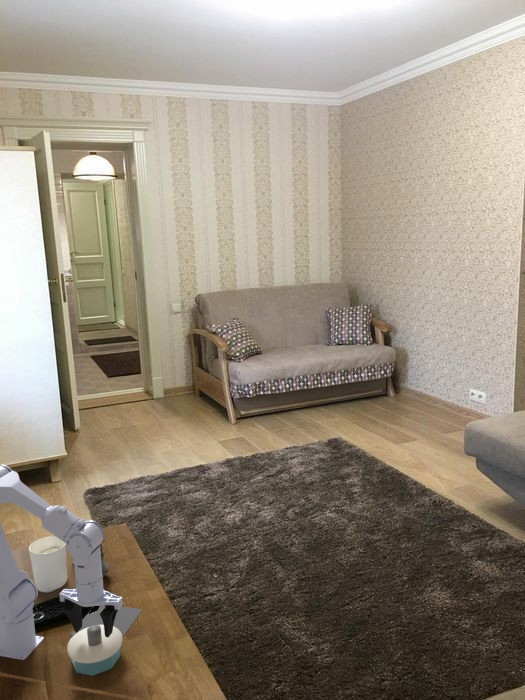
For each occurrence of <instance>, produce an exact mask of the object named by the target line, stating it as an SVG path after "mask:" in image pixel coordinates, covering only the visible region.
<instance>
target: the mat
mask: <svg viewBox="0 0 525 700" xmlns="http://www.w3.org/2000/svg"><path fill="white" fill-rule="evenodd" d="M104 608H105V606H100V607H99V609H98V610H97V611H95V612H92V613H90V614H89V612H87V614H86V615H85V616H84V617H83V618H82V628H81V629H80V630H79V631H81V630H83V629H85V628H87V627H90V626H92V625H104V624H103V620H102V618H101V616H100V613H101V612H102V611H103V609H104ZM142 611H143V609H142V608H136V607H129V606H123V605H122V606H121V608H120V609H119V610H118V611H117V614H116V617H115V620H114V625H113V626H114V627H116V628H117V629H119V630H120V632H121V634H122V639H123V638H124V636H125V635H126V633H127V632H128V631H129V629H130V628H131V627H132V625H133V624H134V622H135V621H136V620H137V619H138V617H139V615H140V614H141V613H142ZM79 631H78V632H79ZM76 633H77V632H75V631H74V629H73V630H72V631H71V633H70V634H69V636H72V637H73V636H74V635H75V634H76Z"/></svg>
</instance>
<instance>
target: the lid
mask: <svg viewBox="0 0 525 700" xmlns="http://www.w3.org/2000/svg"><path fill="white" fill-rule="evenodd" d="M122 645H123V638H122V634H121V632H120V630H119V629H117V628H116V627H114V626H113V632H112V633H111V635H110V636H109V637H105V633H104V625H92V626H90V627H87V628H85V629H83V630H81V631H79V632H78V633H76V634H75V635H74V636H72V637H71V638H70V640H69V641H68V642H67V646H66V648H67V654H68V657H69V658H70V659H72V660H74V661H76V662H79V663H87V664H89V663H96V662H100V661H103V660H105V659H107V658H109V657H111V656H112V655H114V654H115V653H116V652H117V651H118V650H119V649H120V650H121V647H122ZM72 660H71V661H72Z"/></svg>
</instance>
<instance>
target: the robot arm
mask: <svg viewBox="0 0 525 700" xmlns="http://www.w3.org/2000/svg"><path fill="white" fill-rule="evenodd" d="M8 503H12V504H13V505H15V506H17V507H18V508H21V509H22V510H24V511H25V512H28V513H30V514H31V515H33V516H34V517H36V518H38V519H39V520H41V525H42V528H43V529H44V530H46V531H47V532H48V533H50V534H51V535H52V536H56V537H57V538H59V539H60V540H62V541H63V542H65V543H66V551H67V552H68V553H69V555H70V556H72V557H71V559H72V558H73V562H74V563H73V562H72V563H73V564H74V567H73V568H74V575H75V576H74V577H75V588H69V589H68V588H64V589H62V591H61V592H59V602H61V603H62V602H63V603H64V604H63V605H62V606H61V611H62V612H63V613H64V614H65V615H66V617H67V618H68V619H69V621H70V624H71V626H72V628H73V630H74V631H75V632H77V633H78V631H79V630H80V629H81V628H82V620H83V610H82V609H83V607H85V608H89V607H94V606H105V608H104V609H103V611H102V612H101V613H100V616H101V618H102V620H103V624H104V633H105V637H109V636H110V635H111V633H112V632H113V625H114V620H115V617H116V614H117V611H118V610H119V609H120V608H121V606H123V605H124V603H123V596H119V595H116V594H113V593H112V592H109V591H107V590H105V589H104V579H103V578H104V577H102V565H101V552H100V546H99V545H100V544H102V542H103V541H104V538H105V532H104V530H103V529H104V528H102V526H101V525H100V524H98V522H97V521H95V520H86V519H83V518H82V519H81V518H79V517H78V516H76V514H74V513H72V512H70V511H69V510H68V508H67V507H66V506H62V505H60V504H57V505H51V504H50V503H48V502H47V501H46V500H45V499H43V498H42V497H41V496H39V494H37V493H36V492H35V491H33V490H32V489H31V488H29V486H27V485H26V484H24V483H23V482H22V480H21V479H20V475H19V473H18V472H17V471H15V470H13V469H12V468H11V467H9V466H8V465H7V464H0V505H2V504H8ZM38 595H39V591H38V589H37V587H36V585H35V581H33V580H32V579H31V577H30V575H29V572H27V571H23V570H19V568H18V565H17V563H16V560H15V557H14V554H13V552H12V550H11V546H10V544H9V541H8V538H7V536H6V534H5V530H4V528H3V525H2V523H1V522H0V657H5V658H11V659H15V660H16V659H18V660H22V661H23V660H26V659H27V657H29V656H30V654H31V653H32V652H33V651H34V650H36V647H37V646H39V644H41V642H42V641H43V640H44V639H45V637H44V636H40V635H36V630H35V629H36V628H35V620H34V619H35V618H34V609H33V608H34V606H35V603H34V601H35V600H36V599H37V598H38Z"/></svg>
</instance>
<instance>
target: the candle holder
mask: <svg viewBox="0 0 525 700" xmlns="http://www.w3.org/2000/svg"><path fill="white" fill-rule="evenodd" d="M66 545H67V544H66V543H65V542H63V541H62V540H60V539H59V538H57V537H56V536H54V535H50V536H44V537H41V538H38V539H35V540H34V541H33V542H31V544H30V545H29V547H28V552H29V557H30V562H31V568H32V574H33V580H34V583H35V585H36V587H37V589H38V592H40V593H51V592H52V593H53V592H54V591H56V590H57V589H60V588H62V587H63V586H64V585H65V584H67V581H68V564H67V563H68V560H67V559H68V558H67V555H68V554H67V546H66Z"/></svg>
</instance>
